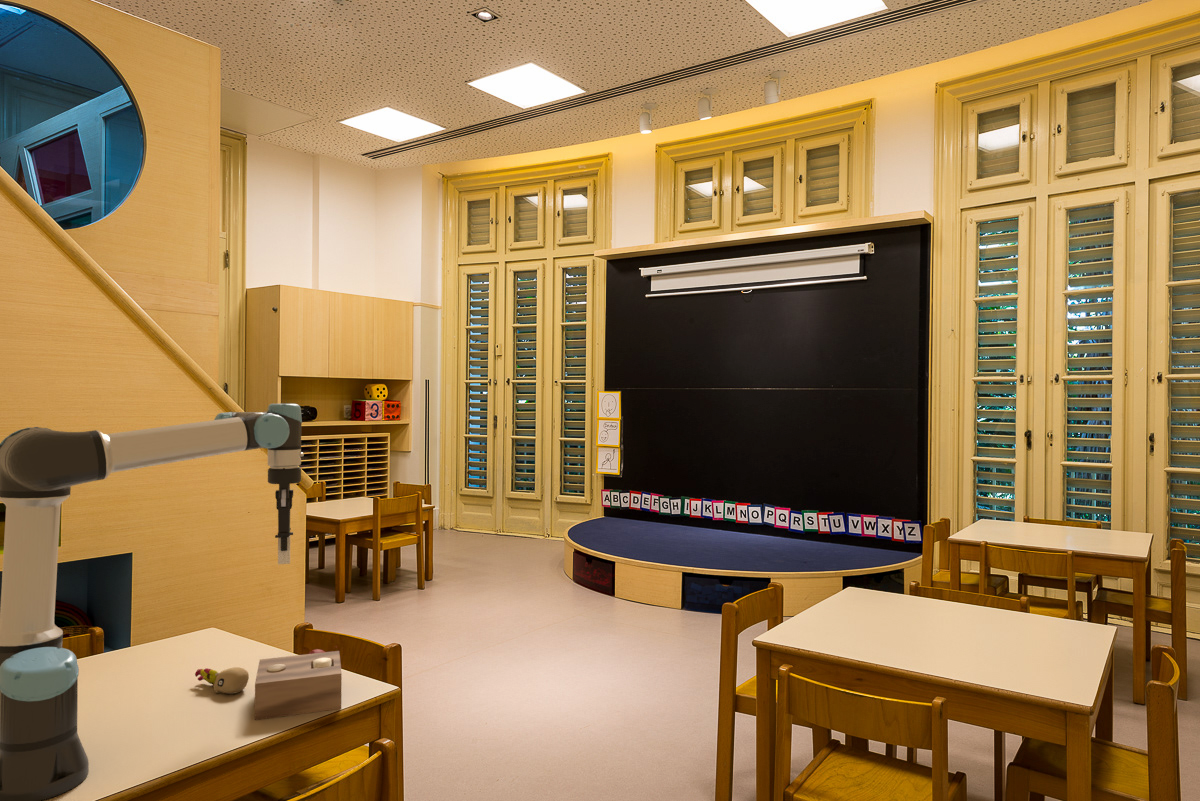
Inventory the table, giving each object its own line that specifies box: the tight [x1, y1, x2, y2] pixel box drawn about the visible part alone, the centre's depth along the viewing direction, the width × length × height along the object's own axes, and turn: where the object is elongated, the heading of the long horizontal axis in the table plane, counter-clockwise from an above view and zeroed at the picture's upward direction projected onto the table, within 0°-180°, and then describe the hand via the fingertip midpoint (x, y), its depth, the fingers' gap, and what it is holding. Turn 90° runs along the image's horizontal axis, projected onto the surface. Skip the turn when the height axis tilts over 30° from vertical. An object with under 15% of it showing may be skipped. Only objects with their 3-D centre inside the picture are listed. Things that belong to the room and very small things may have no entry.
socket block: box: [254, 650, 343, 721], centre depth 175 cm, size 16×18×8 cm
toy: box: [194, 666, 250, 695], centre depth 182 cm, size 6×7×15 cm
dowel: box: [313, 658, 331, 668], centre depth 177 cm, size 4×4×8 cm
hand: (284, 563), depth 183 cm, fingers closed
